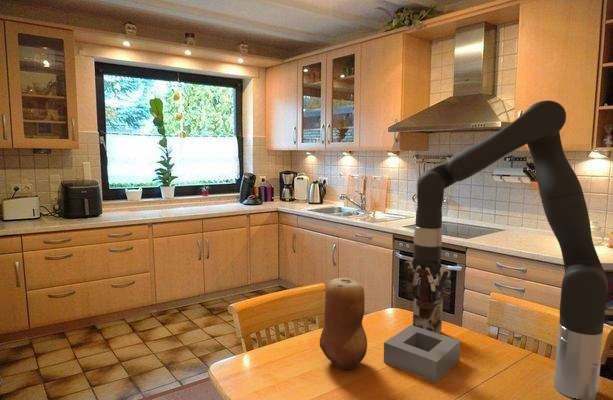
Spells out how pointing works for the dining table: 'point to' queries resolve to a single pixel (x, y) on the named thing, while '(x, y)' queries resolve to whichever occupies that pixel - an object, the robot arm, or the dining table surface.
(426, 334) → the socket block
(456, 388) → the dining table surface
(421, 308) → the bolt
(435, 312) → the coffee box
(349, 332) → the butternut squash
